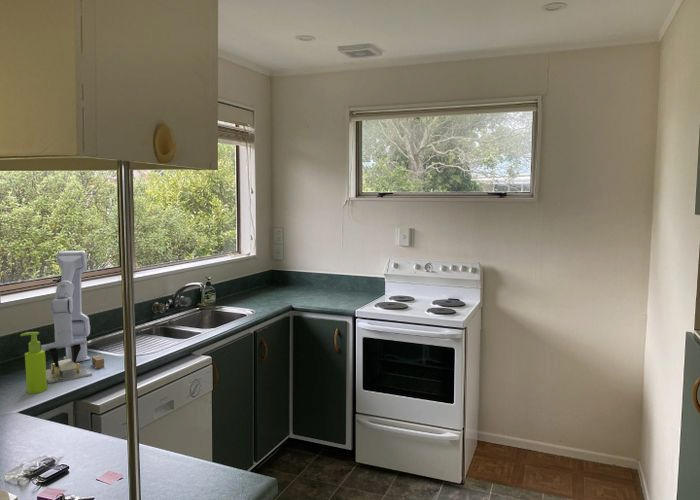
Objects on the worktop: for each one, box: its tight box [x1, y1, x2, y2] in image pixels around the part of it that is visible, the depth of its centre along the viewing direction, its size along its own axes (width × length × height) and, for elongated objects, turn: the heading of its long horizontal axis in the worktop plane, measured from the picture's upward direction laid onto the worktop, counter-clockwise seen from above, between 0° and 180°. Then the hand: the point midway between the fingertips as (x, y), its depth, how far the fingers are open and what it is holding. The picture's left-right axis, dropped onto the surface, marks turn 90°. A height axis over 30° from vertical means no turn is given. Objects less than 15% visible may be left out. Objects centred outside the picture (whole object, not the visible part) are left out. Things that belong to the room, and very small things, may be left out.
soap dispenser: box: [19, 331, 48, 395], centre depth 182 cm, size 6×7×20 cm
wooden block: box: [91, 355, 105, 369], centre depth 210 cm, size 6×3×3 cm, turn 39°
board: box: [58, 359, 76, 371], centre depth 200 cm, size 9×5×2 cm, turn 39°
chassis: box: [46, 362, 93, 385], centre depth 200 cm, size 16×14×4 cm
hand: (65, 366), depth 200 cm, fingers closed on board, 5 cm apart
